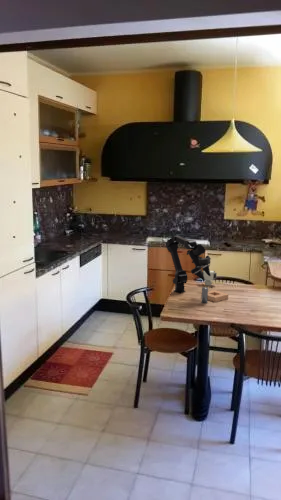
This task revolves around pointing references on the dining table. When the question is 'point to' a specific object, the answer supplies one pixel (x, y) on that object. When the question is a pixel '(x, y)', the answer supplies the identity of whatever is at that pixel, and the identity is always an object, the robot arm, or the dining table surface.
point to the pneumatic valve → (209, 277)
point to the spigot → (204, 295)
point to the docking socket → (216, 296)
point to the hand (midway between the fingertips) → (207, 278)
